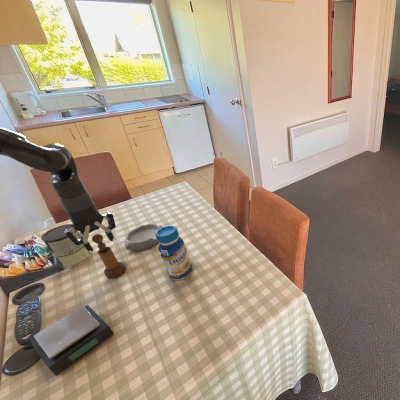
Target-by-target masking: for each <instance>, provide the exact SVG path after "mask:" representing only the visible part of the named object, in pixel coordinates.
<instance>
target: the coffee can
mask: <svg viewBox="0 0 400 400" xmlns="http://www.w3.org/2000/svg"><path fill="white" fill-rule="evenodd" d="M72 226H73V223H69V224H62V225H59V226H56V227H53V228H51V229H48V230H47V231H45V232H44V233H43V234H41V236H40V238H41V241H42V242H43V243H44V244H45V245H46V247H47V249H48V250H49V252H50V253H51V254H52V255H53V257H54V258H55V260H56V261H57V263H58V264H59V266H60V267H61V266H62V267H63V268H62V267H61V268H62V269H72V268H75V267H78V266H80V265H82V264H84V263H85V262H87V261H88V260H89V259H91V257H92V256H93V253H92V251H88V250H87V249H85V247H84V245H83V244H80V245H76V244H75V243H73V242H72V241H71V240H70V239H69V238H68V237H67V236H66V235H65V234H64V233H63V231H64V230H68V229H70V228H72ZM74 232H75V234H74V237H75V238H76V239H77V240H79V239H80V231H77V230H75V231H74Z"/></svg>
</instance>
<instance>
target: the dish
mask: <svg viewBox="0 0 400 400" xmlns="http://www.w3.org/2000/svg"><path fill="white" fill-rule="evenodd" d="M162 227H163V225H162V224H156V223H147V224H141V225H139V226H137V227H135V228H133V229H131V230H130V231H128V233H125V239H124V240H125V243H124V247H125V248H126V249H129V250H130V251H132V252H133V251H134V252H139V251H144V250H147V249H150V248H152V247H154V246H155V245H156V244H157V243H159V242H158V240H157V238H156V235H155V233H156V231H157V230H159V229H160V228H162Z"/></svg>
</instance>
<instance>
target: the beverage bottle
mask: <svg viewBox="0 0 400 400" xmlns="http://www.w3.org/2000/svg"><path fill="white" fill-rule="evenodd" d="M155 235H156V238H157V240H158V242H157V243H159V244H158V252H159V253H160V258H161V259H162V261H163V264H164V266H165V268H166V270H167V273H168V276H169V278H170V279H171V280H174V281H180V280H184V279H186V278H188V277H189V276H190V275H191V274H192V273H193V270H194V268H193V267H194V266H193V265H192V262H191V259H190V255H189V253H188V248H187V246H186V244H185V240H183V238H182V237H180V233H179V230H178V228H177V226H175V225H165V226H162V228H160V229H159V230H157V231H156V233H155Z"/></svg>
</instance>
